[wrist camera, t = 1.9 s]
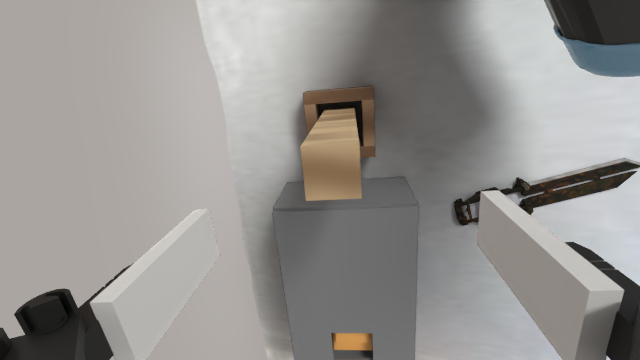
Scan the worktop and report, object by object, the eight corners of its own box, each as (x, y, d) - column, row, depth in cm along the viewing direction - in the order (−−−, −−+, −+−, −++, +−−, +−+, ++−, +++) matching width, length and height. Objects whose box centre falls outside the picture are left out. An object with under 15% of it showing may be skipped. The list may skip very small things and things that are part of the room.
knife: (641, 153, 41) (650, 155, 40) (637, 195, 43) (646, 199, 42) (451, 188, 46) (454, 192, 44) (456, 226, 48) (459, 230, 46)
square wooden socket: (306, 91, 42) (302, 93, 39) (371, 85, 41) (373, 87, 38) (312, 153, 45) (309, 160, 42) (373, 149, 44) (375, 156, 40)
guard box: (287, 182, 47) (271, 209, 38) (404, 176, 45) (418, 204, 36) (305, 322, 56) (296, 372, 47) (403, 322, 54) (414, 374, 45)
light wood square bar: (325, 107, 43) (300, 146, 20) (354, 105, 42) (359, 142, 20) (328, 135, 44) (306, 200, 22) (355, 133, 44) (361, 198, 21)
